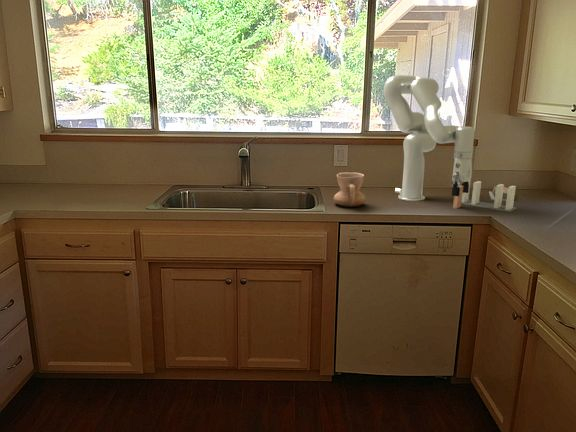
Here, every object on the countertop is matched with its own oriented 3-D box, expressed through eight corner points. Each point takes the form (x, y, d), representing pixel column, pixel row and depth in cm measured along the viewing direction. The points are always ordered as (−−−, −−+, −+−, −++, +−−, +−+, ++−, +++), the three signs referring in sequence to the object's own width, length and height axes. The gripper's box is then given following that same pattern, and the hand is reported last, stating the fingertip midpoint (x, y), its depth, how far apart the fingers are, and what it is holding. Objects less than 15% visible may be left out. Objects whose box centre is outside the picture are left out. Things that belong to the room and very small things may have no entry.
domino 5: (505, 209, 203) (508, 187, 200) (509, 207, 206) (512, 185, 204) (509, 210, 202) (512, 187, 199) (512, 208, 205) (515, 186, 203)
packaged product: (489, 185, 237) (511, 186, 233) (488, 194, 238) (509, 195, 235) (492, 191, 220) (515, 193, 217) (491, 201, 221) (513, 203, 218)
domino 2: (460, 202, 216) (462, 181, 213) (464, 200, 219) (467, 179, 217) (464, 202, 215) (466, 181, 212) (468, 200, 218) (470, 180, 216)
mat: (451, 203, 216) (451, 201, 216) (460, 199, 223) (460, 198, 223) (509, 213, 199) (510, 211, 199) (517, 208, 206) (517, 207, 206)
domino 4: (493, 207, 206) (496, 185, 203) (497, 205, 210) (500, 184, 207) (497, 208, 205) (500, 186, 202) (501, 206, 209) (504, 184, 206)
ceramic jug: (332, 200, 220) (333, 170, 216) (363, 200, 219) (364, 171, 215) (334, 210, 203) (335, 178, 199) (367, 210, 202) (368, 179, 198)
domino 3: (471, 203, 213) (473, 182, 210) (475, 202, 216) (477, 181, 213) (474, 204, 212) (477, 183, 209) (478, 202, 215) (481, 181, 212)
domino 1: (452, 209, 205) (455, 187, 203) (457, 207, 209) (459, 185, 206) (456, 209, 204) (458, 187, 202) (461, 207, 208) (463, 185, 205)
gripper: (463, 158, 192) (460, 198, 196) (479, 154, 204) (476, 192, 208) (446, 156, 197) (443, 196, 201) (462, 153, 209) (459, 190, 213)
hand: (460, 194), depth 204 cm, fingers open, 9 cm apart
